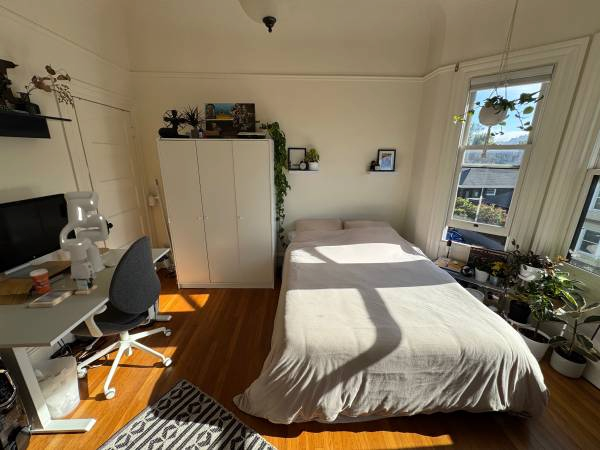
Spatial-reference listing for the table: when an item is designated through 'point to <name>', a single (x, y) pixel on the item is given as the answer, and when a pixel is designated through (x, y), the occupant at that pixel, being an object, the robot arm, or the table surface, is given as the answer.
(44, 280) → the paper cup
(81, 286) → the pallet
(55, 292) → the wooden picture frame
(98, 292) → the table surface
